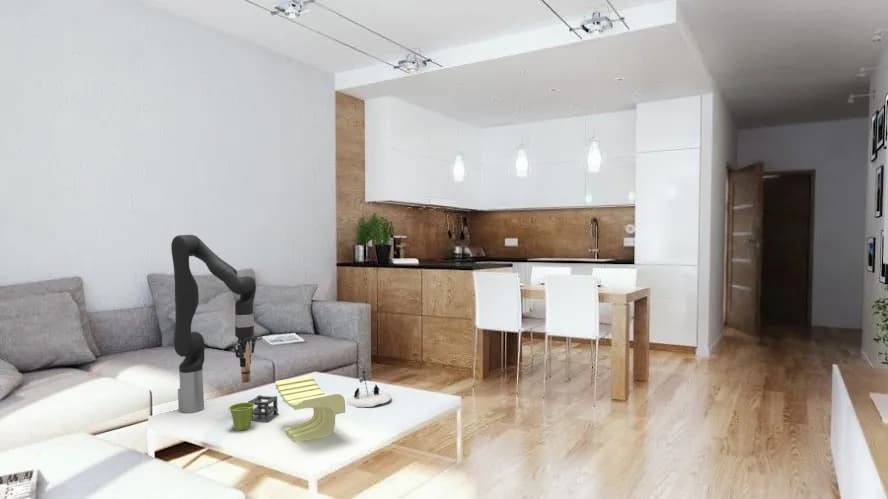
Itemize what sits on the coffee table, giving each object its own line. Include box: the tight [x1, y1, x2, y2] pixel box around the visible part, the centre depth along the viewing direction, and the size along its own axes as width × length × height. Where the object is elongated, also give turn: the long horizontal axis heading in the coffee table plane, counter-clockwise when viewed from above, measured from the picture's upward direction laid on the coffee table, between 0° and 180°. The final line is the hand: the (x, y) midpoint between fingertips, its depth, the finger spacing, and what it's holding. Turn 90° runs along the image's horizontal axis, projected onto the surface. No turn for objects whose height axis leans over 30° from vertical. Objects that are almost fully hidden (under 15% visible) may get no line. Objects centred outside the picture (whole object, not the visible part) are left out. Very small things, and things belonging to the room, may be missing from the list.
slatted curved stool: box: [275, 375, 346, 443], centre depth 221 cm, size 30×16×18 cm, turn 34°
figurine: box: [346, 366, 392, 408], centre depth 258 cm, size 20×18×16 cm
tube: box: [240, 343, 251, 383], centre depth 242 cm, size 4×4×16 cm
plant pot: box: [228, 402, 255, 431], centre depth 227 cm, size 9×9×9 cm
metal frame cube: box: [247, 394, 279, 424], centre depth 238 cm, size 9×9×8 cm
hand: (245, 365), depth 242 cm, fingers closed on tube, 3 cm apart
